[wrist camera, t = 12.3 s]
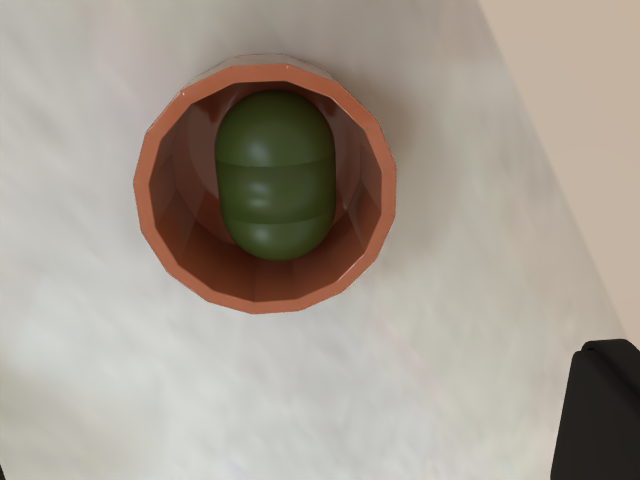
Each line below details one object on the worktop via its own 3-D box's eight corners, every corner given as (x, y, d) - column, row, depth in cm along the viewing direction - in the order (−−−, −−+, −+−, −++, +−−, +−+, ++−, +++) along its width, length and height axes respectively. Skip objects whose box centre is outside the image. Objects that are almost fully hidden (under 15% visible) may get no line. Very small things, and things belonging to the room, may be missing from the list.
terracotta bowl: (147, 58, 25) (113, 70, 19) (370, 49, 25) (399, 59, 20) (177, 262, 29) (155, 322, 23) (370, 250, 29) (393, 304, 24)
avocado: (205, 86, 24) (210, 101, 20) (318, 79, 25) (349, 93, 21) (222, 242, 27) (230, 288, 23) (323, 230, 28) (351, 273, 24)
